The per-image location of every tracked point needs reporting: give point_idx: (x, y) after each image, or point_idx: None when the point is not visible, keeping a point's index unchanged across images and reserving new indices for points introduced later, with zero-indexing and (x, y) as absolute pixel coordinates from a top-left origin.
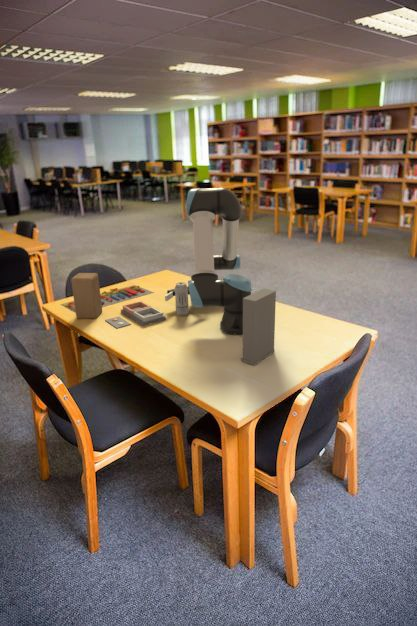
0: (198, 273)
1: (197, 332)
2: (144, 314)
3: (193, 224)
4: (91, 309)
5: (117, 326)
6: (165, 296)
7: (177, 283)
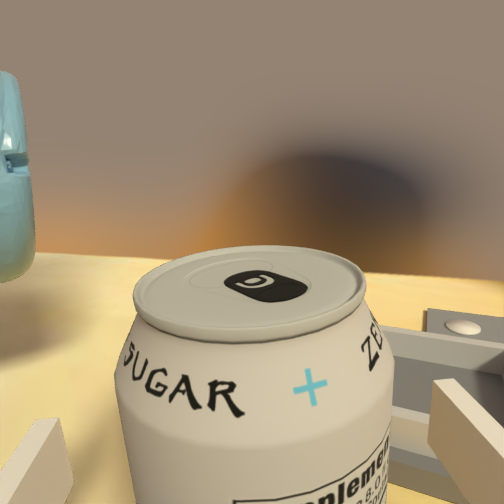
0: None
1: (35, 399)
2: (490, 407)
3: None
4: None
5: (438, 313)
6: (444, 386)
7: (344, 274)
